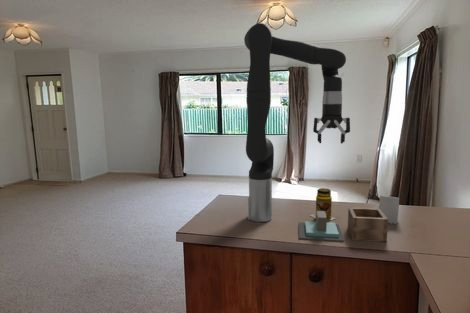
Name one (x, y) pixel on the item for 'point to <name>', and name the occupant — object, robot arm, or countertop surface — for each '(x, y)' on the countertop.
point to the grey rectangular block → (390, 208)
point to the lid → (321, 226)
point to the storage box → (367, 224)
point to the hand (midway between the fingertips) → (330, 143)
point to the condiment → (324, 203)
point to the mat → (303, 236)
